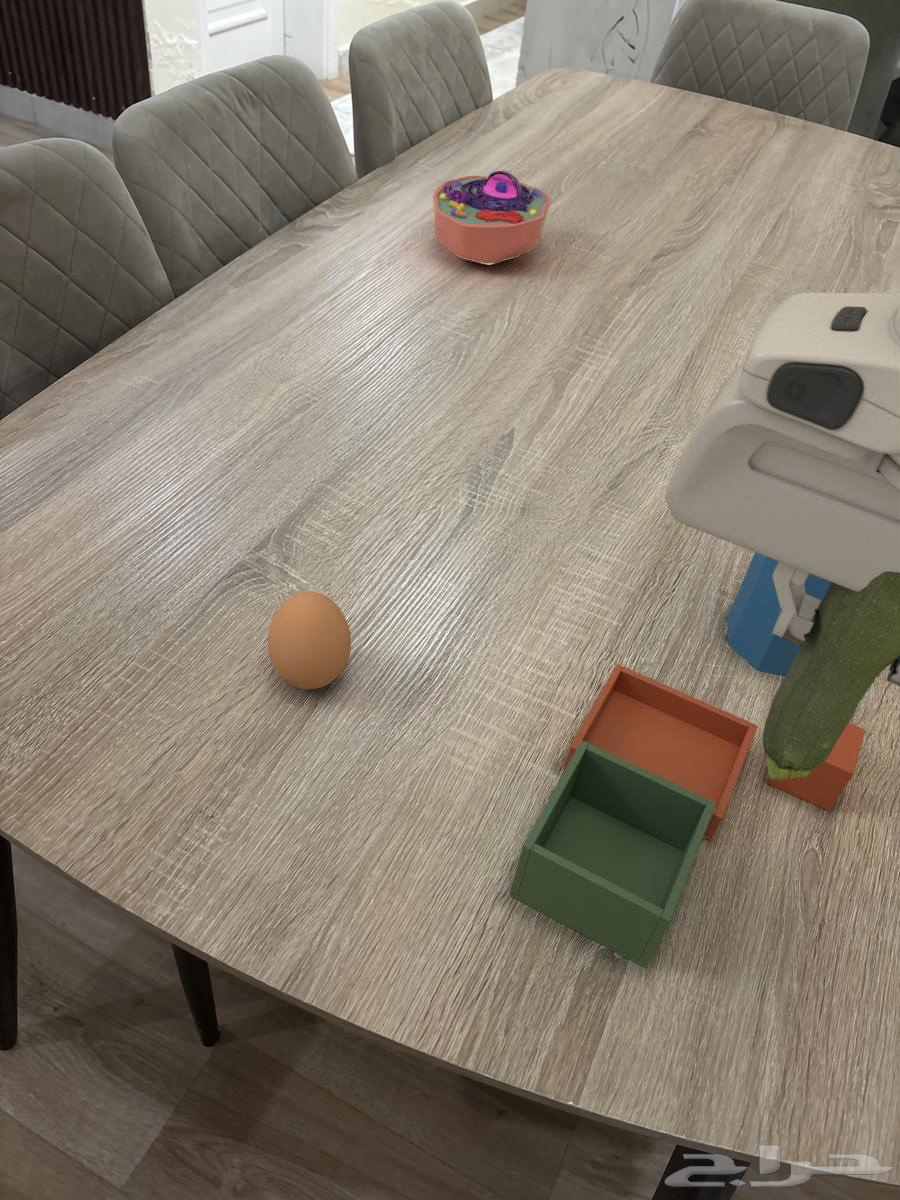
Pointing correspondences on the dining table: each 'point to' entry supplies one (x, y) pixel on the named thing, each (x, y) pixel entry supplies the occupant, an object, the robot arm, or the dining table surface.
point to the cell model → (489, 216)
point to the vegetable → (832, 674)
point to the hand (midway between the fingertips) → (844, 655)
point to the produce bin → (612, 852)
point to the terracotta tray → (669, 736)
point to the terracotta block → (828, 772)
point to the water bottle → (764, 618)
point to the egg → (309, 640)
